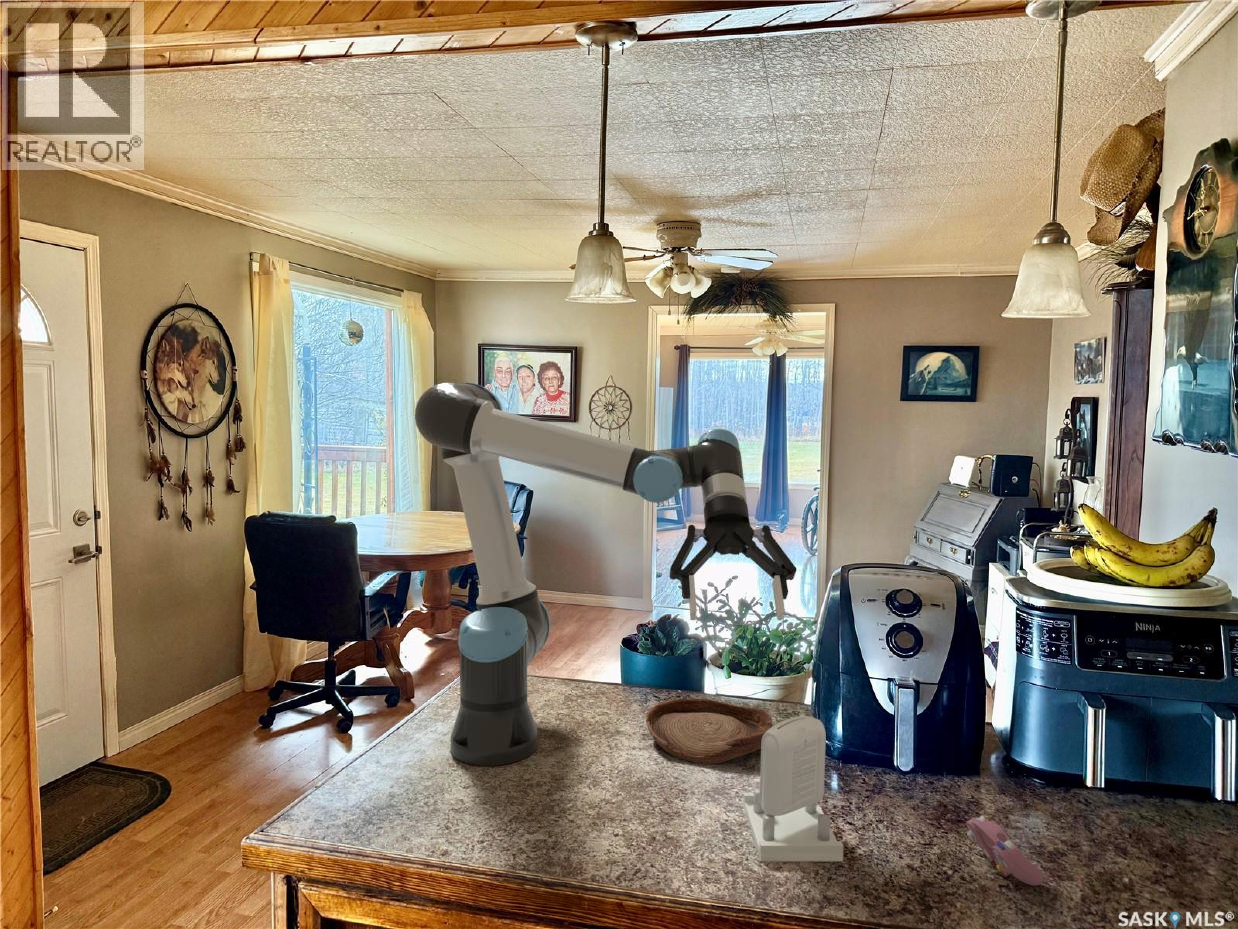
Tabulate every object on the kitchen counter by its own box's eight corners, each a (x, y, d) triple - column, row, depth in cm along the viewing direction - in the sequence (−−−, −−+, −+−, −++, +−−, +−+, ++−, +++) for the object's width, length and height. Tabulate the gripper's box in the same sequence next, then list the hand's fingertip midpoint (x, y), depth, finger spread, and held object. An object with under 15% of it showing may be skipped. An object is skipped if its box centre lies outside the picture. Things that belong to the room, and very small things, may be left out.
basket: (635, 759, 134) (635, 731, 134) (657, 712, 154) (657, 688, 153) (769, 774, 129) (769, 745, 129) (774, 724, 149) (774, 699, 148)
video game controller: (973, 856, 109) (954, 815, 108) (1001, 840, 109) (982, 798, 108) (1018, 902, 99) (997, 857, 98) (1049, 884, 99) (1028, 839, 98)
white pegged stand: (743, 806, 119) (743, 779, 118) (815, 806, 119) (816, 779, 118) (760, 861, 105) (761, 831, 104) (842, 861, 105) (843, 831, 104)
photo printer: (805, 787, 116) (808, 706, 115) (828, 800, 112) (831, 716, 111) (754, 807, 110) (756, 722, 109) (776, 821, 107) (778, 733, 106)
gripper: (793, 519, 138) (812, 627, 125) (651, 518, 138) (655, 627, 125) (801, 493, 133) (822, 604, 119) (653, 492, 132) (658, 603, 119)
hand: (737, 616), depth 122 cm, fingers open, 13 cm apart
